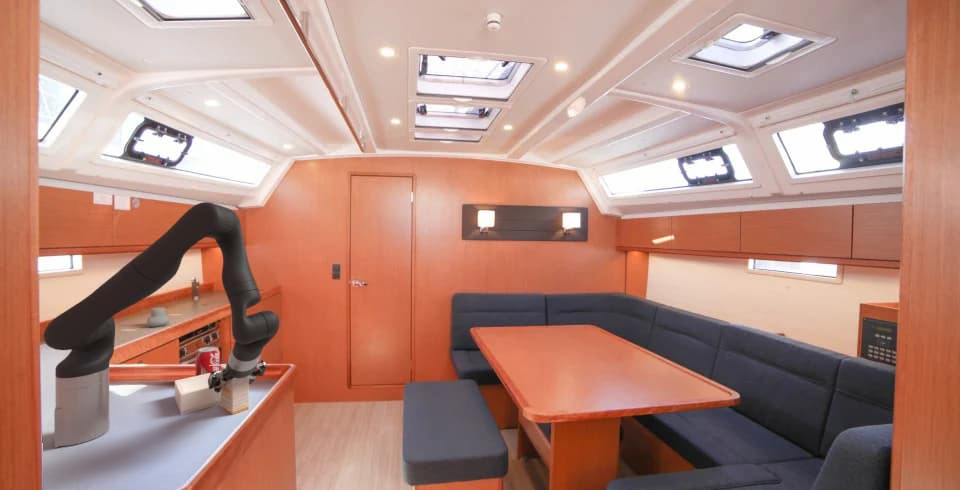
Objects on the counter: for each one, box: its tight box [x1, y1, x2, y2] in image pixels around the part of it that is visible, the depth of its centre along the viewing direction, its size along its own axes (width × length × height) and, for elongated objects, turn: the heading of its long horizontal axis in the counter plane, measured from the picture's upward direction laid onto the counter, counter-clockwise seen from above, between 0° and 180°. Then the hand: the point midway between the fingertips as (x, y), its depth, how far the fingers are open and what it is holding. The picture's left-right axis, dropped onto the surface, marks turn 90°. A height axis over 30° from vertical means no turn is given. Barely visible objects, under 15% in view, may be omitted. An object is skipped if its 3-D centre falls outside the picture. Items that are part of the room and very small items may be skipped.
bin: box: [174, 370, 221, 416], centre depth 111 cm, size 14×14×6 cm
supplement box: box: [220, 364, 250, 415], centre depth 106 cm, size 8×5×13 cm, turn 58°
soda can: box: [195, 345, 221, 376], centre depth 124 cm, size 7×7×12 cm
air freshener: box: [147, 306, 170, 328], centre depth 194 cm, size 11×8×10 cm
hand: (233, 385), depth 107 cm, fingers open, 7 cm apart
